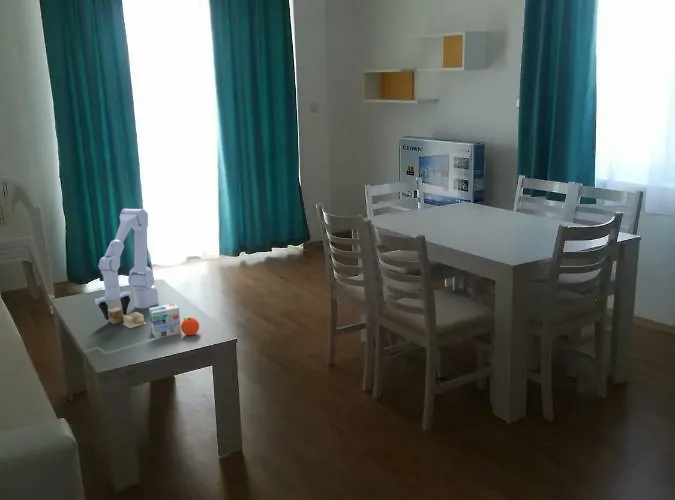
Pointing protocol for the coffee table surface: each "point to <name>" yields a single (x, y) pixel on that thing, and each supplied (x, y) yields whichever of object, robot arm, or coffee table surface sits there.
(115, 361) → the coffee table surface
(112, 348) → the coffee table surface
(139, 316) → the cream square block
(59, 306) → the coffee table surface
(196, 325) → the clementine
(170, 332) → the light bulb box
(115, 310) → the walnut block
